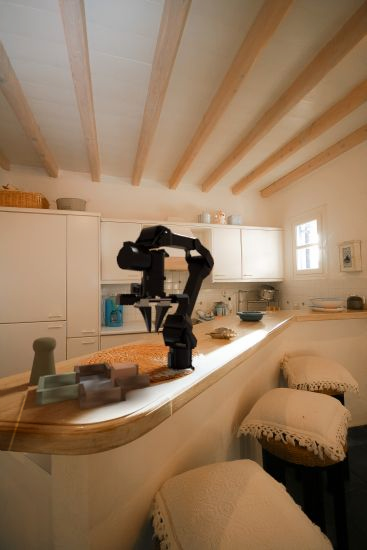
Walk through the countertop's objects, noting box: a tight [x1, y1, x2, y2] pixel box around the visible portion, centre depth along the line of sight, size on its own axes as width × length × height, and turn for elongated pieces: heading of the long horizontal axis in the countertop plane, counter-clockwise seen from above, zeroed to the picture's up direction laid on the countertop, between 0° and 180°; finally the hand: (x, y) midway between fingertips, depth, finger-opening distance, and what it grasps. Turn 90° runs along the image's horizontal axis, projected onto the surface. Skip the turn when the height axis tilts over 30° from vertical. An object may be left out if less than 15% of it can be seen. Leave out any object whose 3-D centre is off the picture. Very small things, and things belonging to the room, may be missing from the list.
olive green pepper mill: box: [28, 336, 57, 387], centre depth 62 cm, size 6×6×11 cm
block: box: [110, 361, 136, 385], centre depth 60 cm, size 5×5×4 cm
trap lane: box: [35, 361, 151, 410], centre depth 57 cm, size 23×21×3 cm
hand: (152, 332), depth 64 cm, fingers closed
